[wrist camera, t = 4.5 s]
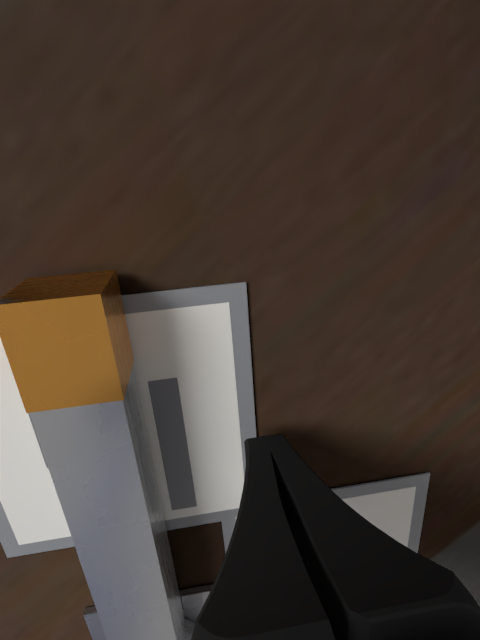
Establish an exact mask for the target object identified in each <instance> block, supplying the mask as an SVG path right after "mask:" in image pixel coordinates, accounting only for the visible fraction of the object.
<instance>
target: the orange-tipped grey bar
mask: <svg viewBox="0 0 480 640" xmlns="http://www.w3.org/2000/svg"><path fill="white" fill-rule="evenodd" d="M0 338H1V341H2V344H3V347H4V350H5V353H6V356H7V359H8V361H9V364H10V367H11V370H12V373H13V376H14V379H15V382H16V385H17V387H18V390H19V393H20V396H21V399H22V402H23V405H24V408H25V411H26V413H30V416H31V419H32V422H33V425H34V428H35V431H36V434H37V436H38V439H39V442H40V445H41V448H42V451H43V454H44V457H45V460H46V463H47V466H48V469H49V472H50V475H51V478H52V480H53V483H54V486H55V489H56V492H57V495H58V498H59V501H60V504H61V507H62V510H63V513H64V516H65V519H66V522H67V524H68V527H69V530H70V533H71V536H72V539H73V542H74V545H75V548H76V551H77V554H78V557H79V560H80V563H81V565H82V568H83V571H84V574H85V577H86V580H87V583H88V586H89V589H90V592H91V595H92V598H93V601H94V604H95V607H96V609H97V612H98V615H99V618H100V621H101V624H102V627H103V630H104V633H105V636H106V639H107V640H191V638H192V634H193V630H194V626H195V622H193V621H190V620H187V619H185V618H184V613H183V608H182V603H181V599H180V594H179V589H178V584H177V579H176V574H175V569H174V564H173V559H172V554H171V549H170V544H169V539H168V534H167V529H166V525H165V520H164V515H163V510H162V505H161V500H160V495H159V490H158V485H157V480H156V475H155V470H154V465H153V460H152V456H151V451H150V446H149V441H148V436H147V431H146V426H145V421H144V416H143V411H142V406H141V401H140V396H139V391H138V386H137V382H136V377H135V372H134V367H133V362H134V357H133V352H132V347H131V342H130V337H129V332H128V327H127V322H126V317H125V312H124V307H123V302H122V297H121V292H120V287H119V282H118V277H117V272H116V270H108V271H98V272H88V273H78V274H68V275H58V276H48V277H38V278H29V279H26V280H24V281H23V282H22V283H20V284H19V285H17V286H16V287H15V288H13V289H12V290H11V291H9V292H8V293H6V294H5V295H4V296H2V297H1V298H0Z"/></svg>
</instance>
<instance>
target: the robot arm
mask: <svg viewBox="0 0 480 640" xmlns="http://www.w3.org/2000/svg"><path fill="white" fill-rule="evenodd" d="M244 447H245V459H246V468H245V477H244V485H243V491H242V496H241V501H240V506H239V511H238V515H237V519H236V523H235V526H234V530H233V533H232V536H231V539H230V542H229V545H228V548H227V551H226V554H225V557H224V560H223V562H222V565H221V567H220V569H219V572H218V574H217V577H216V579H215V582H214V584H213V586H212V589H211V591H210V593H209V595H208V597H207V599H206V601H205V603H204V605H203V607H202V609H201V611H200V613H199V615H198V617H197V619H196V622H195V626H194V630H193V634H192V638H191V640H480V607H479V606H478V604H477V603H476V601H475V600H474V598H473V597H472V595H471V594H470V593H469V591H468V590H467V589H466V588H465V586H464V585H463V584H462V583H461V581H460V580H459V579H458V578H457V577H456V575H455V574H454V573H453V572H452V571H450V570H448V569H446V568H444V567H442V566H441V565H439V564H437V563H435V562H433V561H431V560H429V559H427V558H425V557H423V556H422V555H420V554H418V553H416V552H414V551H413V550H411V549H409V548H408V547H406V546H404V545H403V544H401V543H399V542H398V541H396V540H395V539H393V538H392V537H390V536H389V535H388V534H386V533H385V532H383V531H382V530H380V529H379V528H377V527H376V526H374V525H373V524H372V523H370V522H369V521H368V520H366V519H365V518H364V517H362V516H361V515H360V514H359V513H357V512H356V511H355V510H354V509H352V508H351V507H350V506H349V505H348V504H346V503H345V502H344V501H343V500H342V499H341V498H340V497H339V496H337V495H336V494H335V493H334V492H333V491H332V490H331V489H330V488H329V487H328V486H327V485H326V484H325V483H324V482H323V481H322V480H321V479H320V478H319V477H318V476H317V475H316V474H315V473H314V472H313V470H312V469H311V468H310V467H309V466H308V465H307V464H306V463H305V462H304V460H303V459H302V458H301V457H300V456H299V455H298V453H297V452H296V451H295V450H294V448H293V447H292V446H291V445H290V443H289V442H288V440H287V439H286V438H285V436H284V435H282V434H275V435H269V436H262V437H255V438H248V439H246V440H245V441H244Z"/></svg>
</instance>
